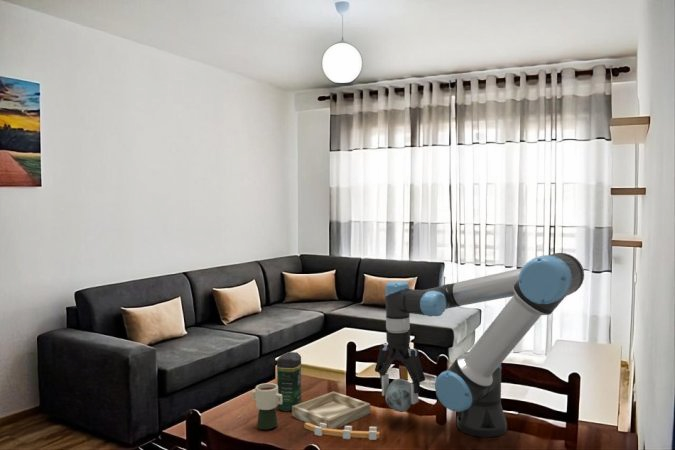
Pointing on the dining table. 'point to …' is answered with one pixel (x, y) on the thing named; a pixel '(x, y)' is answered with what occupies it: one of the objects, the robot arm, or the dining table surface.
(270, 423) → the character mug
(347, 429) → the clips
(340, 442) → the dining table surface
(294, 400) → the coffee jar
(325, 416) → the wooden tray
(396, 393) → the grey patterned ovoid
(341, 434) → the cable
